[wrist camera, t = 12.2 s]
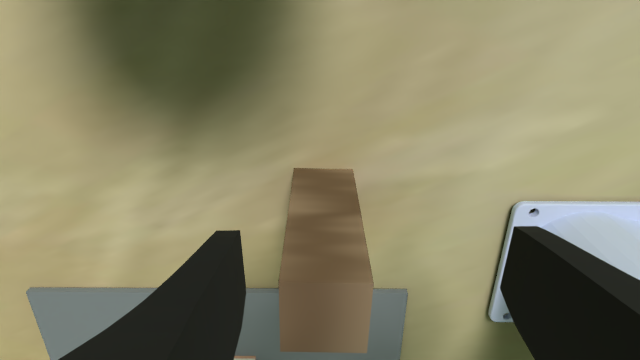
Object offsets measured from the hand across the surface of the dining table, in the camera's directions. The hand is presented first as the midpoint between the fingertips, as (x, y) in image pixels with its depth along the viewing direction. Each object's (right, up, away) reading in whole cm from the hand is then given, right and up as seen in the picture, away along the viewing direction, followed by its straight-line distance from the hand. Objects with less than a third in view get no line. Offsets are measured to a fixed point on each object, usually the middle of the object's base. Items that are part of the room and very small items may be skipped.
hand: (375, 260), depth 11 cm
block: (-1, +1, +11) cm, 11 cm away
